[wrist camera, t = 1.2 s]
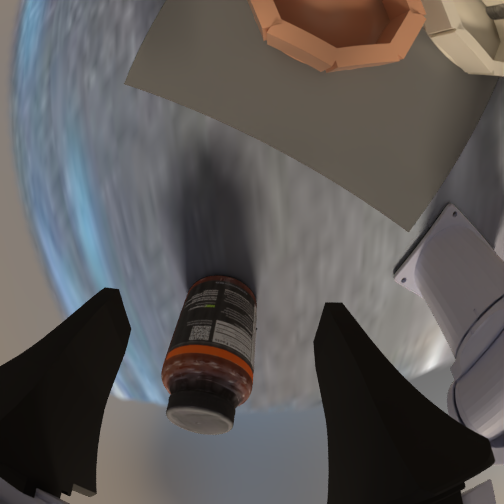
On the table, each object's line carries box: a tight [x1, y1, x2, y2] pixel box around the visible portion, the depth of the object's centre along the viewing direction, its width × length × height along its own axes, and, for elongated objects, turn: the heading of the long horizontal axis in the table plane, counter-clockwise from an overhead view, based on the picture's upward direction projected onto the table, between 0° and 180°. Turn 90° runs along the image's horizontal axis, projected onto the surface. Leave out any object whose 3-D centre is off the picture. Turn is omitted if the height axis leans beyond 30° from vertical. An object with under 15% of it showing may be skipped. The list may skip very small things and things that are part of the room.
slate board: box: [124, 0, 499, 232], centre depth 11 cm, size 22×22×1 cm
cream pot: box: [421, 0, 504, 77], centre depth 7 cm, size 11×9×3 cm
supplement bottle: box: [161, 275, 257, 435], centre depth 18 cm, size 6×6×11 cm
